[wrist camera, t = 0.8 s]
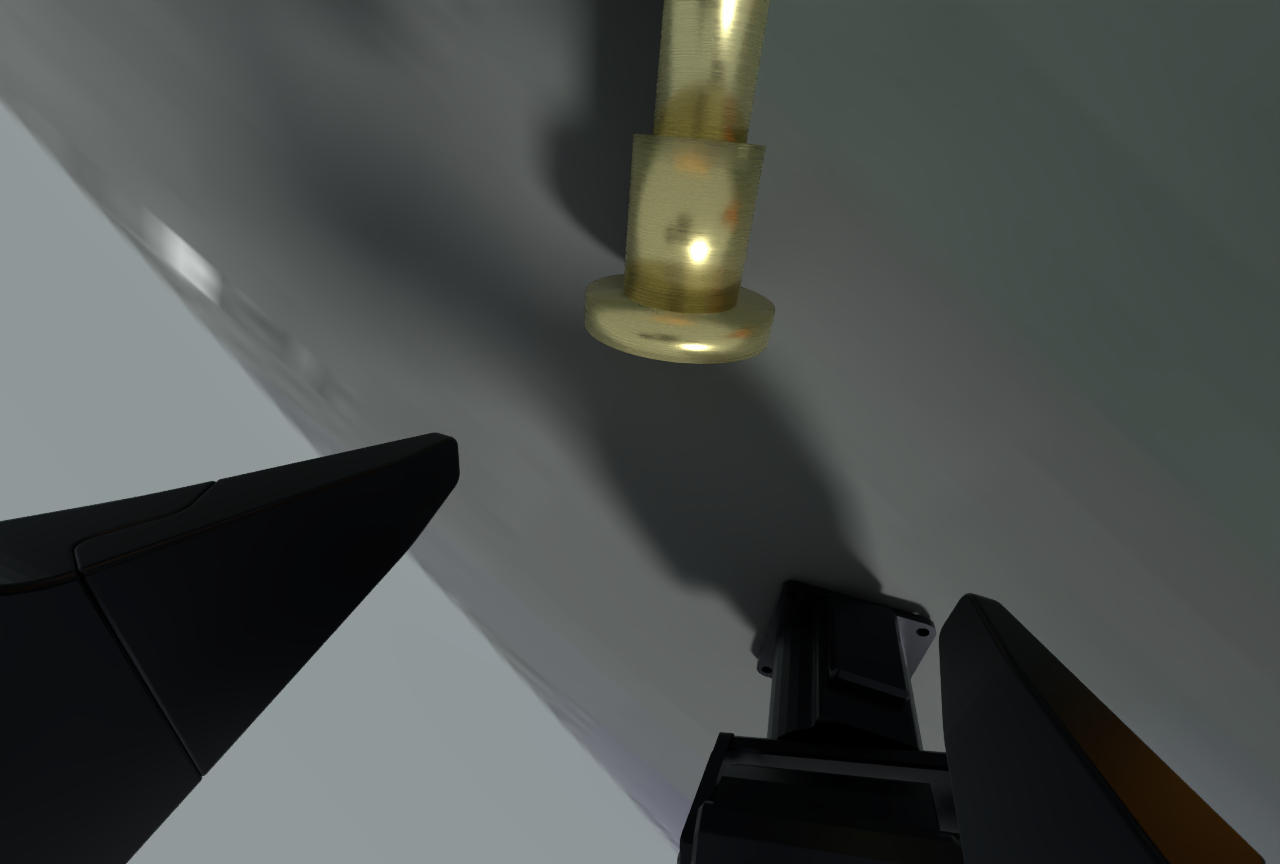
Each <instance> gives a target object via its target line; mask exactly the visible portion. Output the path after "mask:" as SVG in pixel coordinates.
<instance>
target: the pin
mask: <svg viewBox="0 0 1280 864" xmlns="http://www.w3.org/2000/svg"><path fill="white" fill-rule="evenodd" d="M769 3H770V0H664V5H663V18H662V30H661V42H660V54H659V66H658V79H657V91H656V103H655V115H654V127H653V135H646V134H633V149H632V164H631V180H630V195H629V210H628V226H627V241H626V257H625V272H624V274H622V275H614V276H609V277H604V278H601V279H598V280H595V281H593V282H591V283H590V284H589V285H588V286H587V287H586V294H585V328H586V329H587V331H588V332H589V333H590V334H591V336H593V337H594V338H595V339H597V340H598V341H600V342H602V343H604V344H605V345H608V346H610V347H612V348H615V349H617V350H620V351H623V352H626V353H630V354H633V355H637V356H641V357H645V358H650V359H656V360H662V361H669V362H677V363H691V364H715V363H727V362H735V361H740V360H744V359H748V358H751V357H754V356H756V355H758V354H760V353H761V352H763V351H764V350H765V349H766V347H767V345H768V341H769V337H770V332H771V328H772V323H773V319H774V314H775V307H774V305H773V303H772V302H771V301H770V300H768V299H767V298H765V297H764V296H762V295H760V294H758V293H756V292H754V291H751V290H748V289H746V288H743V287H740V286H741V281H742V275H743V270H744V264H745V259H746V253H747V248H748V242H749V237H750V231H751V226H752V220H753V215H754V209H755V204H756V198H757V193H758V187H759V182H760V177H761V171H762V166H763V160H764V155H765V149H766V146H760V145H752V144H746V143H747V136H748V130H749V124H750V118H751V112H752V106H753V100H754V94H755V88H756V82H757V76H758V70H759V64H760V58H761V52H762V45H763V39H764V33H765V27H766V21H767V15H768V9H769Z"/></svg>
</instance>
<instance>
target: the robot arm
mask: <svg viewBox="0 0 1280 864" xmlns="http://www.w3.org/2000/svg"><path fill="white" fill-rule="evenodd" d="M459 475H460V469H459V454H458V443H457V441H456V440H455V439H454V438H453V437H450V436H447V435H444V434H440V433H429V434H425V435H420V436H416V437H411V438H406V439H402V440H397V441H393V442H388V443H384V444H379V445H375V446H370V447H365V448H361V449H356V450H352V451H347V452H343V453H338V454H333V455H329V456H324V457H320V458H316V459H311V460H306V461H301V462H297V463H292V464H288V465H284V466H279V467H274V468H270V469H265V470H260V471H256V472H252V473H247V474H242V475H238V476H233V477H229V478H224V479H220V480H218V481H217V482H215V481H210V482H205V483H201V484H196V485H191V486H187V487H182V488H178V489H173V490H168V491H163V492H159V493H153V494H148V495H144V496H138V497H134V498H128V499H122V500H117V501H111V502H106V503H101V504H95V505H90V506H84V507H78V508H73V509H67V510H61V511H56V512H50V513H44V514H39V515H33V516H27V517H22V518H16V519H10V520H5V521H0V864H126V863H127V862H128V861H129V860H130V859H131V858H132V856H134V854H135V853H136V852H137V851H138V850H139V849H140V848H141V847H142V846H143V844H144V843H145V842H146V841H147V840H148V839H149V838H150V837H151V835H152V834H153V833H154V832H155V831H156V830H157V829H158V828H159V827H160V825H161V824H162V823H163V822H164V821H165V820H166V819H167V818H168V817H169V816H170V814H171V813H172V812H173V811H174V810H175V809H176V808H177V807H178V806H179V804H180V803H181V802H182V801H183V800H184V799H185V798H186V797H187V795H188V794H189V793H190V792H191V791H192V790H193V789H194V788H195V787H196V786H197V784H198V783H199V782H200V781H201V779H202V776H205V775H206V774H207V773H208V772H209V771H210V770H211V768H212V767H213V766H214V765H215V764H216V763H217V762H218V761H219V760H220V758H221V757H222V756H223V755H224V754H225V753H226V752H227V751H228V750H229V748H230V747H231V746H232V745H233V744H234V743H235V742H236V741H237V740H238V738H239V737H240V736H241V735H242V734H243V733H244V732H245V731H246V730H247V728H248V727H249V726H250V725H251V724H252V723H253V722H254V721H255V719H256V718H257V717H258V716H259V715H260V714H261V713H262V712H263V711H264V710H265V708H266V707H267V706H268V705H269V704H270V703H271V702H272V701H273V699H274V698H275V697H276V696H277V695H278V694H279V693H280V692H281V691H282V690H283V688H284V687H285V686H286V685H287V684H288V683H289V682H290V681H291V679H292V678H293V677H294V676H295V675H296V674H297V673H298V672H299V671H300V670H301V668H302V667H303V666H304V665H305V664H306V663H307V662H308V661H309V660H310V658H311V657H312V656H313V655H314V654H315V653H316V652H317V651H318V650H319V648H320V647H321V646H322V645H323V644H324V643H325V642H326V641H327V640H328V638H329V637H330V636H331V635H332V634H333V633H334V632H335V631H336V630H337V628H338V627H339V626H340V625H341V624H342V623H343V621H345V620H346V618H347V617H348V616H349V615H350V614H351V613H352V612H353V611H354V609H355V608H356V607H357V606H358V605H359V604H360V603H361V602H362V601H363V600H364V598H365V597H366V596H367V595H368V594H369V593H370V592H371V591H372V589H373V588H374V587H375V586H376V585H377V584H378V583H379V582H380V581H381V579H382V578H383V577H384V576H385V575H386V574H387V573H388V572H389V571H390V570H391V568H392V567H393V566H394V565H395V564H396V563H397V562H398V561H399V559H400V558H401V557H402V556H403V555H404V554H405V553H406V552H407V550H408V549H409V548H410V547H411V546H412V544H413V543H414V542H415V541H416V539H417V538H418V537H419V535H420V534H421V533H422V531H423V530H424V529H425V527H426V526H427V524H428V523H429V522H430V520H431V519H432V518H433V516H434V515H435V514H436V512H437V511H438V509H439V508H440V507H441V505H442V504H443V503H444V501H445V500H446V499H447V497H448V496H449V494H450V493H451V492H452V490H453V489H454V488H455V486H456V484H457V482H458V480H459ZM789 591H795V593H792V592H789ZM919 628H926V629H919ZM935 636H936V630H935V626H934V623H933V622H932V621H931V620H930V619H928V618H926V617H923V616H919V615H916V614H912V613H909V612H905V611H901V610H898V609H894V608H891V607H887V606H883V605H880V604H876V603H873V602H869V601H866V600H862V599H858V598H855V597H851V596H848V595H844V594H841V593H837V592H833V591H830V590H826V589H823V588H819V587H816V586H812V585H808V584H805V583H801V582H798V581H793V580H789V581H786V582H784V583H783V584H782V586H781V589H780V592H779V595H778V599H777V602H776V605H775V608H774V611H773V614H772V617H771V620H770V624H769V627H768V630H767V633H766V636H765V639H764V642H763V645H762V648H761V652H760V655H759V658H758V662H757V670H758V672H759V673H760V674H762V675H764V676H766V677H769V678H772V686H771V698H770V710H769V721H768V733H767V738H756V737H743V736H735V735H734V734H733V733H724V732H720V733H719V736H718V738H717V741H716V744H715V746H714V749H713V751H712V752H711V755H710V758H709V761H708V763H707V766H706V769H705V771H704V774H703V777H702V780H701V782H700V785H699V788H698V790H697V793H696V796H695V799H694V801H693V804H692V807H691V809H690V812H689V815H688V818H687V820H686V823H685V826H684V828H683V831H682V834H681V838H680V852H679V854H678V859H677V864H1266V863H1265V860H1264V859H1263V857H1262V856H1261V855H1260V854H1259V853H1258V852H1256V851H1255V850H1254V849H1253V848H1252V847H1251V846H1250V845H1249V844H1248V843H1247V842H1246V841H1245V840H1244V839H1243V838H1242V837H1241V836H1240V835H1239V834H1238V833H1237V832H1236V831H1235V830H1234V829H1233V828H1232V827H1231V826H1230V825H1229V824H1228V823H1227V822H1226V821H1224V820H1223V819H1222V818H1221V817H1220V816H1219V815H1218V814H1217V813H1216V812H1215V811H1214V810H1213V809H1212V808H1211V807H1210V806H1209V805H1208V804H1207V803H1206V802H1205V801H1204V800H1203V799H1202V798H1201V797H1200V796H1199V795H1198V794H1197V793H1196V792H1195V791H1193V790H1192V789H1191V788H1190V787H1189V786H1188V785H1187V784H1186V783H1185V782H1184V781H1183V780H1182V779H1181V778H1180V777H1179V776H1178V775H1177V774H1176V773H1175V772H1174V771H1173V770H1172V769H1171V768H1170V767H1169V766H1168V765H1167V764H1166V763H1165V762H1164V761H1163V760H1161V759H1160V758H1159V757H1158V756H1157V755H1156V754H1155V753H1154V752H1153V751H1152V750H1151V749H1150V748H1149V747H1148V746H1147V745H1146V744H1145V743H1144V742H1143V741H1142V740H1141V739H1140V738H1139V737H1138V736H1137V735H1136V734H1135V733H1134V732H1133V731H1132V730H1130V729H1129V728H1128V727H1127V726H1126V725H1125V724H1124V723H1123V722H1122V721H1121V720H1120V719H1119V718H1118V717H1117V716H1116V715H1115V714H1114V713H1113V712H1112V711H1111V710H1110V709H1109V708H1108V707H1107V706H1106V705H1105V704H1104V703H1103V702H1102V701H1101V700H1100V699H1098V698H1097V697H1096V696H1095V695H1094V694H1093V693H1092V692H1091V691H1090V690H1089V689H1088V688H1087V687H1086V686H1085V685H1084V684H1083V683H1082V682H1081V681H1080V680H1079V679H1078V678H1077V677H1076V676H1075V675H1074V674H1073V673H1072V672H1071V671H1070V670H1069V669H1067V668H1066V667H1065V666H1064V665H1063V664H1062V663H1061V662H1060V661H1059V660H1058V659H1057V658H1056V657H1055V656H1054V655H1053V654H1052V653H1051V652H1050V651H1049V650H1048V649H1047V648H1046V647H1045V646H1044V645H1043V644H1042V643H1041V642H1040V641H1039V640H1038V639H1037V638H1035V637H1034V636H1033V635H1032V634H1031V633H1030V632H1029V631H1028V630H1027V629H1026V628H1025V627H1024V626H1023V625H1022V624H1021V623H1020V622H1019V621H1018V620H1017V619H1016V618H1015V617H1014V616H1013V615H1012V614H1011V613H1010V612H1009V611H1008V610H1007V609H1006V608H1005V607H1003V606H1002V605H1001V604H1000V603H999V602H997V601H995V600H993V599H990V598H986V597H983V596H980V595H976V594H973V593H968V594H965V595H964V596H962V597H961V599H960V600H959V602H958V603H957V605H956V606H955V608H954V609H953V611H952V612H951V614H950V616H949V617H948V619H947V620H946V622H945V623H944V625H943V627H942V629H941V632H940V636H939V655H940V676H941V696H942V717H943V731H944V741H945V748H946V752H934V751H923V746H922V741H921V735H920V730H919V724H918V718H917V713H916V707H915V702H914V696H913V691H912V685H911V680H910V679H911V677H912V675H913V673H914V672H915V670H916V668H917V667H918V665H919V663H920V662H921V660H922V658H923V656H924V655H925V653H926V651H927V650H928V648H929V646H930V644H931V643H932V641H933V639H934V638H935Z"/></svg>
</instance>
